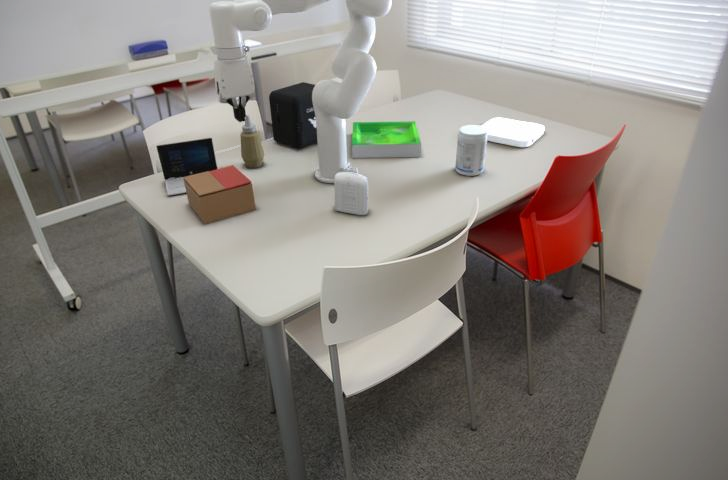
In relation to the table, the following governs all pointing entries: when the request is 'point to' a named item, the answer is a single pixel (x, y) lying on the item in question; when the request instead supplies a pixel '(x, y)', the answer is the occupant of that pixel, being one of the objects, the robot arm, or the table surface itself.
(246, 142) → the squeeze bottle
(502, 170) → the table surface
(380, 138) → the tray
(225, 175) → the flap
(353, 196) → the white upright block
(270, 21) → the robot arm
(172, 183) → the laptop
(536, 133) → the computer
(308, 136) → the black box-shaped case
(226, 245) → the table surface
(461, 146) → the supplement tub
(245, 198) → the carton
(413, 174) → the table surface
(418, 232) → the table surface
